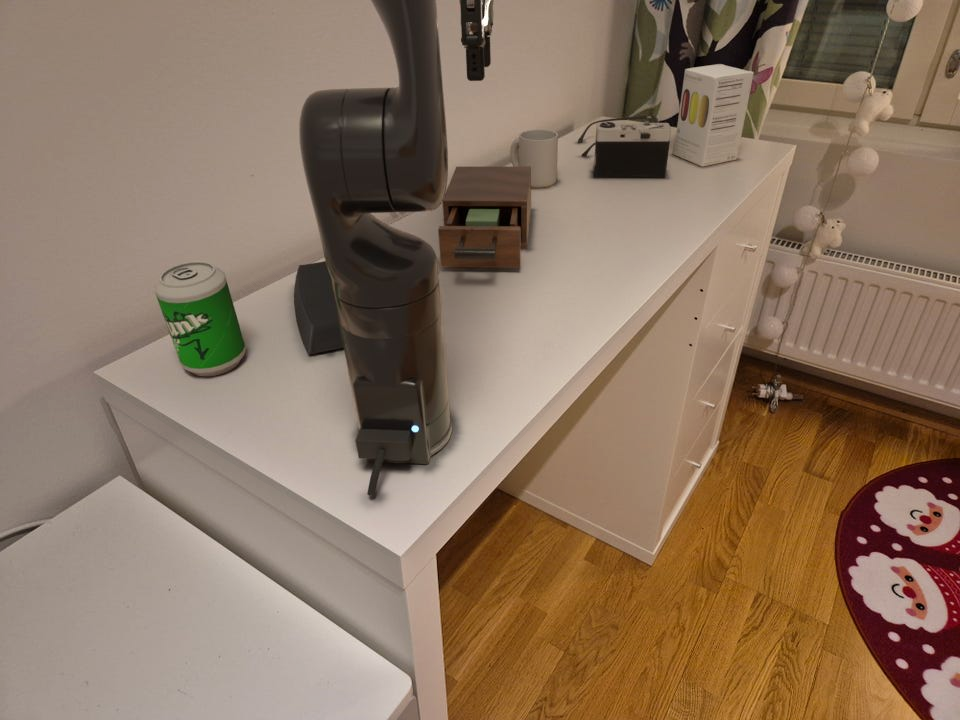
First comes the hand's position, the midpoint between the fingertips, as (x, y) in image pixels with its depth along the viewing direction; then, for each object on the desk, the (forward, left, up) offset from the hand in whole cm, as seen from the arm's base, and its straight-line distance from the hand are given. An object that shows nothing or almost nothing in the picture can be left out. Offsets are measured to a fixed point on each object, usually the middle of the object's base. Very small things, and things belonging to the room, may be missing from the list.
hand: (479, 73), depth 87 cm
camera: (+37, -25, -26) cm, 52 cm away
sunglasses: (+52, -24, -26) cm, 63 cm away
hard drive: (-19, +17, -26) cm, 36 cm away
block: (+1, 0, -22) cm, 22 cm away
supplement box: (+46, -41, -26) cm, 67 cm away
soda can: (-32, +30, -26) cm, 51 cm away
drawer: (-3, 0, -25) cm, 25 cm away
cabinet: (+9, 0, -26) cm, 27 cm away
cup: (+32, -6, -26) cm, 42 cm away
